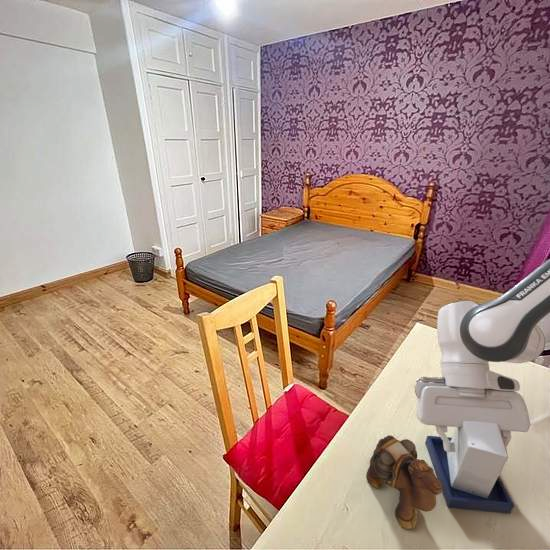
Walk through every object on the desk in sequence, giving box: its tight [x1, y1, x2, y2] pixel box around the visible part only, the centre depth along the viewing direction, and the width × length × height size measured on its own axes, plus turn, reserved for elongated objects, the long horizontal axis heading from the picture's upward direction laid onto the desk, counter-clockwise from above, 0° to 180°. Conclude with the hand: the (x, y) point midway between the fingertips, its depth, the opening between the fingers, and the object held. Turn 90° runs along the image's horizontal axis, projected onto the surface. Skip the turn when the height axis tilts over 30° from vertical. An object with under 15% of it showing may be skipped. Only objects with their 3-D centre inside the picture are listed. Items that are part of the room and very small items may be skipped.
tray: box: [424, 435, 515, 514], centre depth 63 cm, size 11×13×3 cm
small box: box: [447, 421, 509, 499], centre depth 60 cm, size 8×6×13 cm
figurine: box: [365, 435, 442, 530], centre depth 58 cm, size 9×15×15 cm, turn 26°
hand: (475, 453), depth 60 cm, fingers open, 8 cm apart
